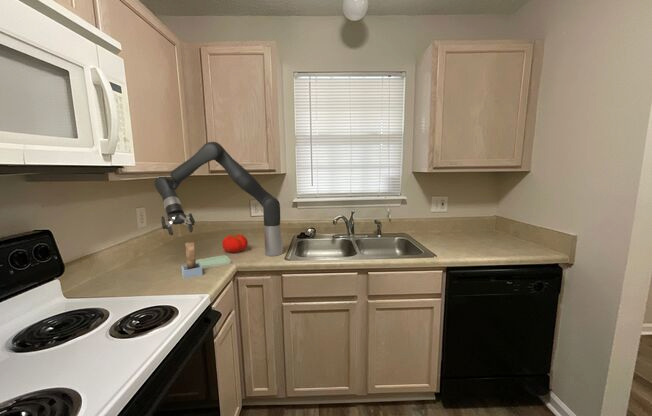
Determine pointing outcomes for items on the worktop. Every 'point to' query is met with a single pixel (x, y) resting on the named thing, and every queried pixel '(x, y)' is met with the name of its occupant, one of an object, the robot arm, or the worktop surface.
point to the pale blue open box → (192, 271)
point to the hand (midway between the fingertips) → (181, 232)
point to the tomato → (234, 243)
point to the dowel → (190, 255)
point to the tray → (214, 261)
